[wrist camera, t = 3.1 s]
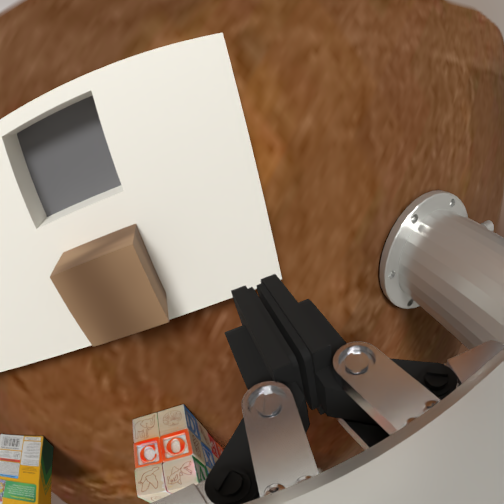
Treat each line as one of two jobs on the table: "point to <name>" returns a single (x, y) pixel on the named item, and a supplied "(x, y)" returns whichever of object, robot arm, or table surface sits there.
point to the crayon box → (25, 469)
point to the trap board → (130, 189)
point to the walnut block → (111, 286)
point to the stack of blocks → (171, 452)
